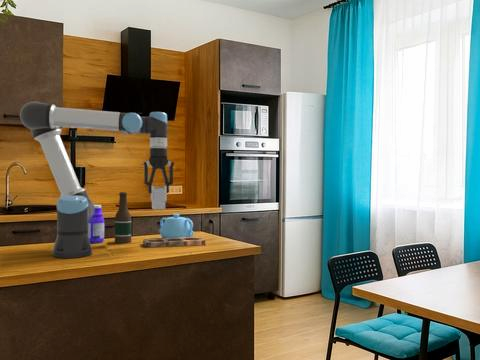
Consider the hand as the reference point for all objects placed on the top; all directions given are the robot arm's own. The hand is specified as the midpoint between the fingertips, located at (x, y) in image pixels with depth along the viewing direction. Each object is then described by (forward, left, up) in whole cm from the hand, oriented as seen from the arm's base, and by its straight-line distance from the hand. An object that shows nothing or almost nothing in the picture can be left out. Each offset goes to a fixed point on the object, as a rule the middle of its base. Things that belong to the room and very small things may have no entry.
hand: (158, 200), depth 212 cm
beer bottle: (-14, +12, -21) cm, 28 cm away
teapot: (+14, +22, -21) cm, 34 cm away
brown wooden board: (+7, 0, -21) cm, 22 cm away
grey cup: (0, 0, -4) cm, 4 cm away
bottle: (-25, +23, -21) cm, 40 cm away
